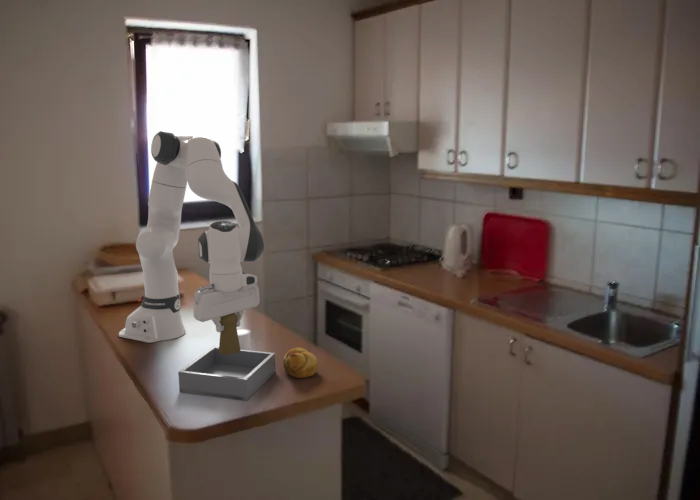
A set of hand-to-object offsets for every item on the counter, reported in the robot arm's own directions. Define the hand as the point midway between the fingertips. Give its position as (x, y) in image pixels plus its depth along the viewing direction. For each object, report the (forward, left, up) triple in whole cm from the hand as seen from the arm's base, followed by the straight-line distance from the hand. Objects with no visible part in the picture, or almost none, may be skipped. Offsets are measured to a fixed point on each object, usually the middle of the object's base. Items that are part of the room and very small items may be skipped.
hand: (228, 328), depth 175 cm
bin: (0, 0, -16) cm, 16 cm away
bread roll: (+16, +12, -16) cm, 26 cm away
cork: (0, 0, -7) cm, 6 cm away
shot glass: (-7, +22, -16) cm, 28 cm away
